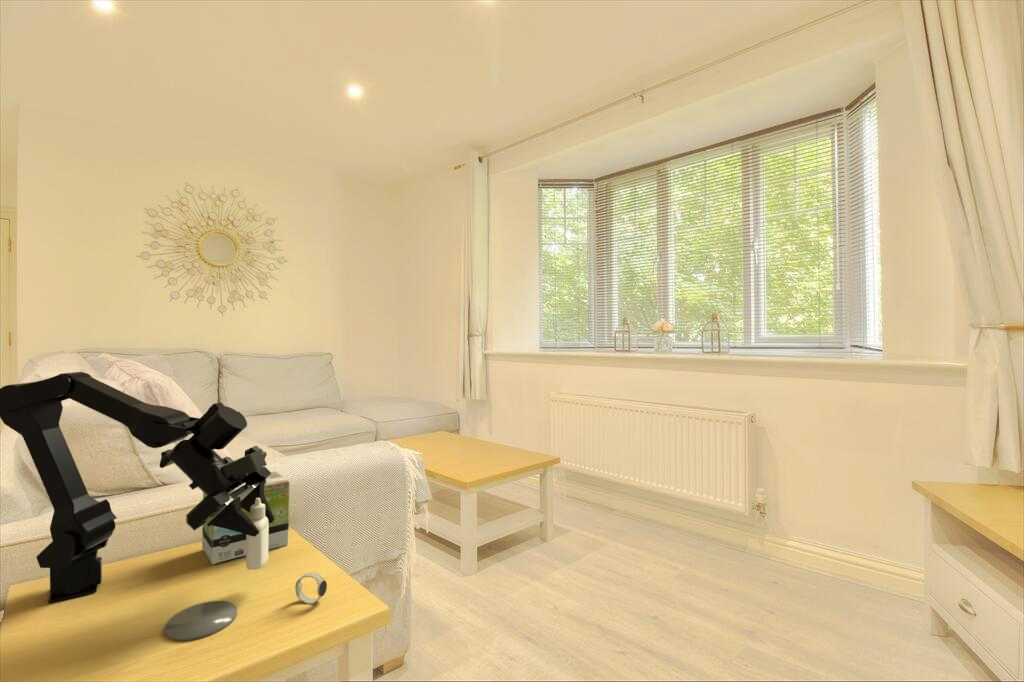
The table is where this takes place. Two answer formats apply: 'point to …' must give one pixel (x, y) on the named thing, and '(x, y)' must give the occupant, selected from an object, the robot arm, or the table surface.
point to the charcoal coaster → (200, 620)
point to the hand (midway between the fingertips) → (265, 527)
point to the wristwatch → (321, 589)
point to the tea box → (232, 543)
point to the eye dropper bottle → (257, 538)
